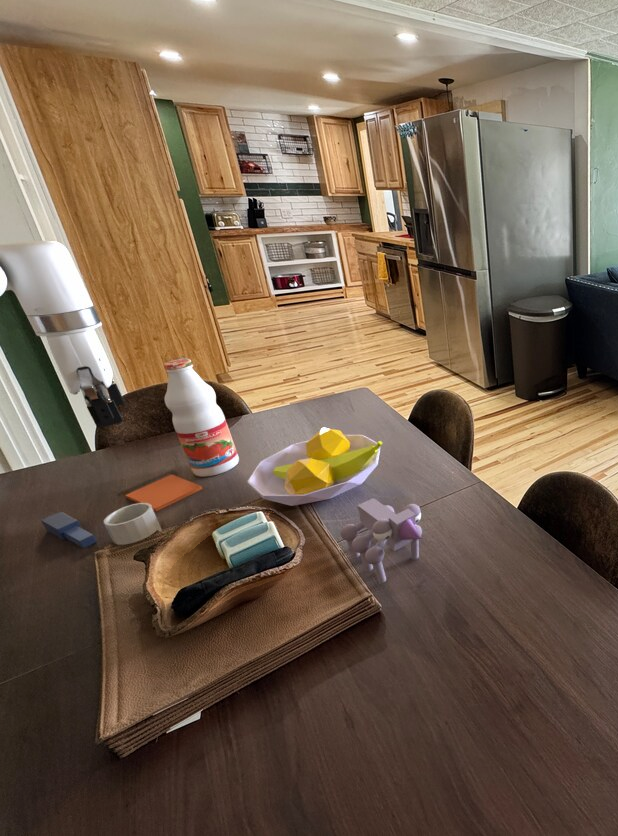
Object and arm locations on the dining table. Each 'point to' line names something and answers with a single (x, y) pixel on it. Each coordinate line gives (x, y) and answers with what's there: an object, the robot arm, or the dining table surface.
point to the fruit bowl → (316, 468)
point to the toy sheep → (382, 533)
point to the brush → (68, 529)
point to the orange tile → (164, 492)
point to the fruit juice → (198, 421)
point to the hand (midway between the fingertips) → (112, 414)
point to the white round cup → (132, 523)
